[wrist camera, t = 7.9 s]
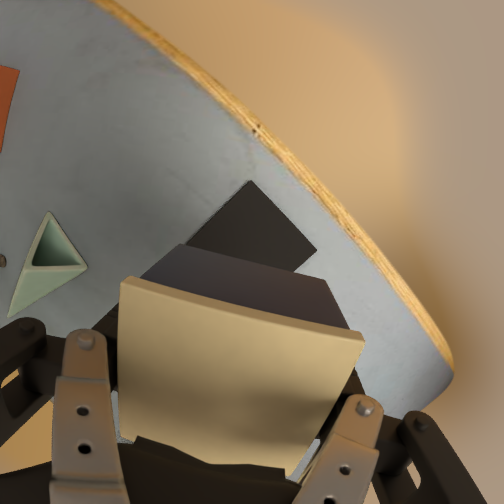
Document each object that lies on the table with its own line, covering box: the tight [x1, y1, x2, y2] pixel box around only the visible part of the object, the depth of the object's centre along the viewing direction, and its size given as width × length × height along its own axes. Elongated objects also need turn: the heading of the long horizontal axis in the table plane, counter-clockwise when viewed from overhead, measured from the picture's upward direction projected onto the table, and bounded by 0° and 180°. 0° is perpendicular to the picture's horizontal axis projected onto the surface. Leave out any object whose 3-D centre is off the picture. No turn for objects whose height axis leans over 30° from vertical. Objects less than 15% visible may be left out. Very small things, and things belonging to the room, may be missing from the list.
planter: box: [7, 212, 87, 318], centre depth 28 cm, size 8×6×18 cm
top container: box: [117, 244, 365, 476], centre depth 10 cm, size 6×6×5 cm
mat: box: [186, 181, 317, 272], centre depth 25 cm, size 8×8×1 cm
